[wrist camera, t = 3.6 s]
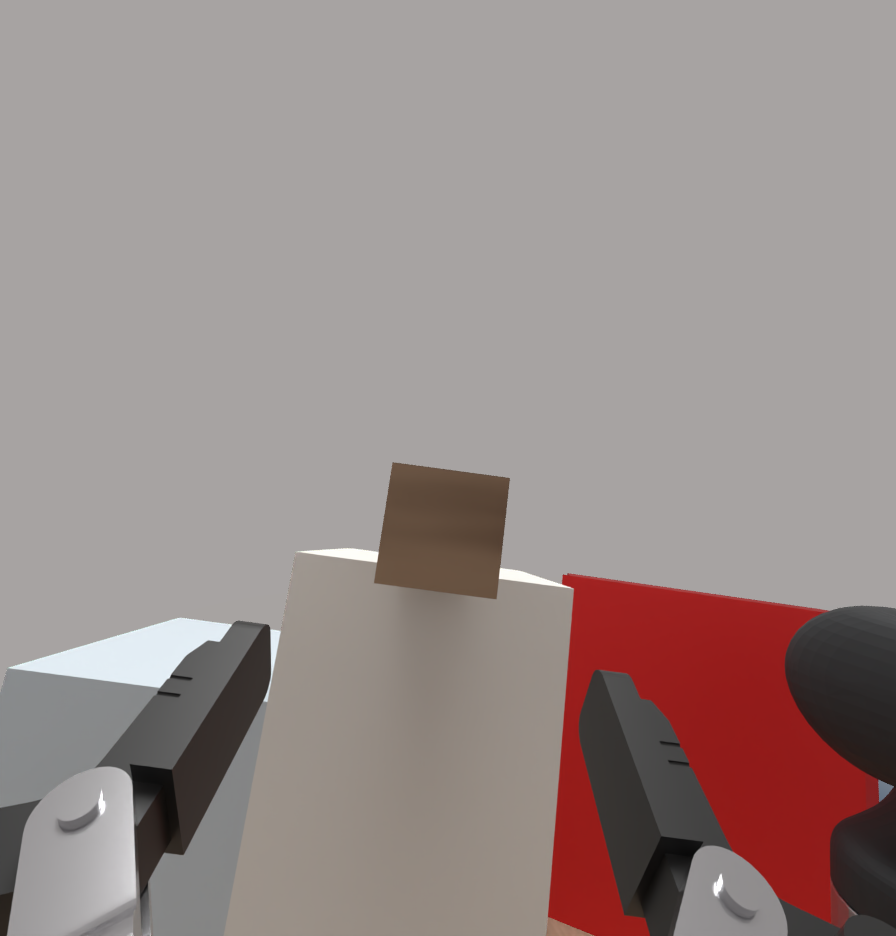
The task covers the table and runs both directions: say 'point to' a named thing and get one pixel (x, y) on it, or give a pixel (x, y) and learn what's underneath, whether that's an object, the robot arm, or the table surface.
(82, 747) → the riser
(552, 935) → the table surface
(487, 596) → the handled cube
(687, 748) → the book
